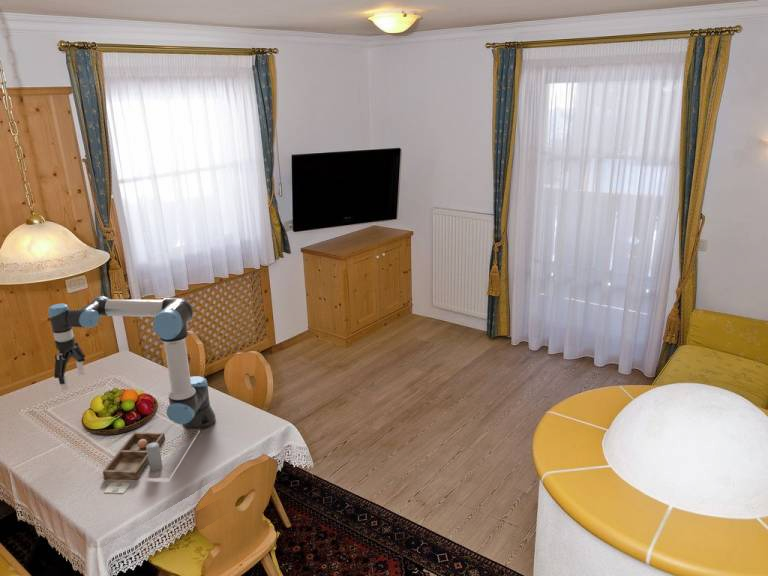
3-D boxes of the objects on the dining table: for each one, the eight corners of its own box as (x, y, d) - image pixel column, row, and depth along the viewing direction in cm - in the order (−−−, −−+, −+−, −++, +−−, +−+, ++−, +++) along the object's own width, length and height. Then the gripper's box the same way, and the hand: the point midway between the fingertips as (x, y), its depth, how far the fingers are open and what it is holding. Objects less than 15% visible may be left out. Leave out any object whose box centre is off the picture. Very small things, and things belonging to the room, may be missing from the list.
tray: (165, 440, 265) (164, 433, 264) (137, 480, 239) (136, 472, 237) (135, 439, 266) (134, 432, 264) (104, 479, 240) (102, 471, 238)
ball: (149, 444, 260) (148, 437, 259) (145, 450, 257) (144, 442, 255) (140, 444, 261) (139, 437, 259) (136, 450, 257) (135, 442, 255)
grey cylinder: (164, 466, 247) (160, 442, 243) (159, 474, 243) (155, 449, 239) (153, 466, 248) (149, 442, 244) (148, 473, 243) (143, 449, 239)
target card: (130, 483, 237) (130, 482, 237) (123, 493, 231) (123, 492, 231) (111, 483, 237) (111, 482, 237) (103, 492, 232) (103, 491, 232)
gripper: (72, 327, 265) (80, 368, 272) (38, 351, 242) (48, 396, 249) (88, 327, 265) (96, 368, 272) (55, 351, 241) (65, 396, 248)
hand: (73, 382), depth 260 cm, fingers open, 13 cm apart
